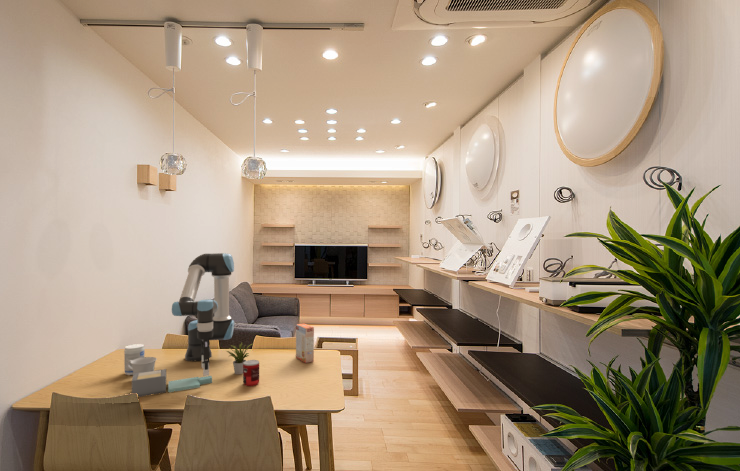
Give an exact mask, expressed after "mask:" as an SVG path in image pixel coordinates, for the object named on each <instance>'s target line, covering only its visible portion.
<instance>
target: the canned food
mask: <svg viewBox="0 0 740 471" xmlns="http://www.w3.org/2000/svg"><path fill="white" fill-rule="evenodd" d="M242 375H243V376H242V381H243V385H244V386H246V387H254V386H257V385H258V384H259V383H260V361H259V360H257V359H249V360H246V361H245V362H243V374H242Z"/></svg>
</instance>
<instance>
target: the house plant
mask: <svg viewBox="0 0 740 471" xmlns="http://www.w3.org/2000/svg"><path fill="white" fill-rule="evenodd" d="M252 345H253V343H251V344H249V345H247V344H245V345H243V342H241V343H239V346H238V347H239V348H238V347H237V346H236V345H235V344H233V345H231V344H230V346H231V347H232V348H234V350H233V349H232V348H230V347H228V349H230V350H231V351H232V352H231V351H229V350H226V352H227V353H228V354H229V357H232V358H234V360H233V361H232V365H233V370H234V375H243V362H245V361H247V360H246V359H245V358H248V357H250V353H248V352H247V351H248V350H249V349H250V346H252ZM245 346H247V347H246V348H245Z"/></svg>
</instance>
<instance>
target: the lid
mask: <svg viewBox="0 0 740 471" xmlns="http://www.w3.org/2000/svg"><path fill="white" fill-rule="evenodd" d="M212 383H213V376H212V375H208V376H200V377H199V376H195V377H194V376H193V377H187V378H181V379H175V380H168V384H167V385H168V386H167V388H168V389H167V392H169V393H175V392H179V391H185V390H192V389H200V388H201V387H200V386H201V385H206V384H212ZM174 391H175V392H174Z"/></svg>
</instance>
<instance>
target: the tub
mask: <svg viewBox="0 0 740 471" xmlns="http://www.w3.org/2000/svg"><path fill="white" fill-rule="evenodd" d="M166 392H167V369H166V368H163V369H156V370H155V369H154V371H148V372H140V373H134V375H132V379H131V394H132V393H137V394H138V396H139V397H138V398H141V397H147V396H152V395H151V394H154V395H158V394H159V393H160V394H165V393H166ZM160 394H159V395H160ZM146 395H147V396H146Z"/></svg>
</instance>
